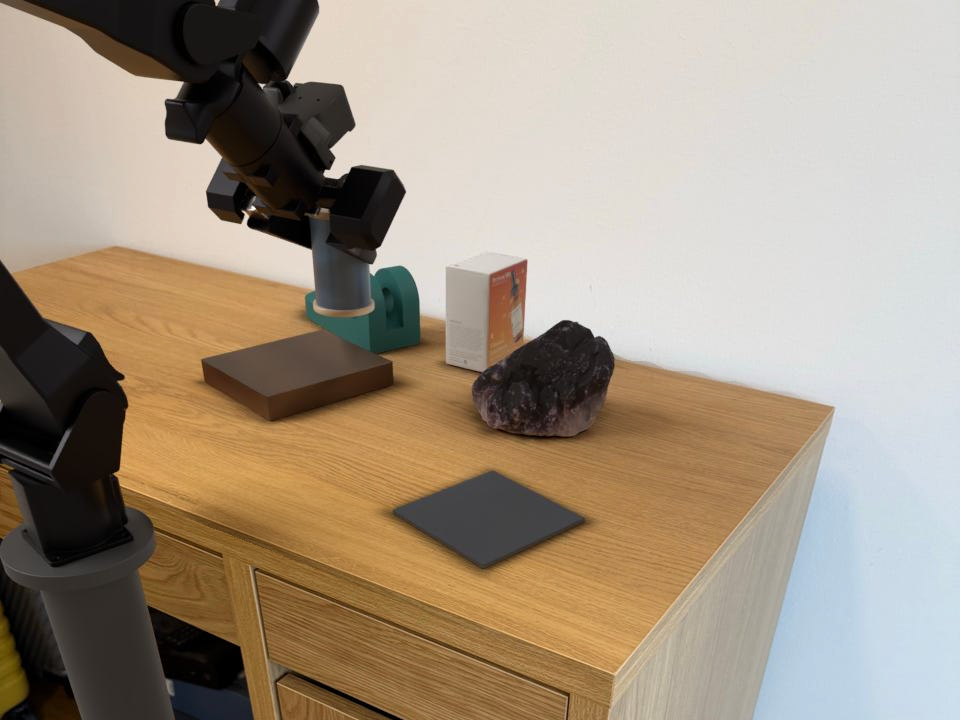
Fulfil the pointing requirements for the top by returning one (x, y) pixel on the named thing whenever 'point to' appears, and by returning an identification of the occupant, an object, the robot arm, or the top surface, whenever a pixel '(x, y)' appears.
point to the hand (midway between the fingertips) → (350, 255)
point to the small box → (484, 309)
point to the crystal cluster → (547, 383)
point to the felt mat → (488, 518)
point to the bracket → (379, 314)
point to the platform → (297, 373)
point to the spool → (337, 275)
